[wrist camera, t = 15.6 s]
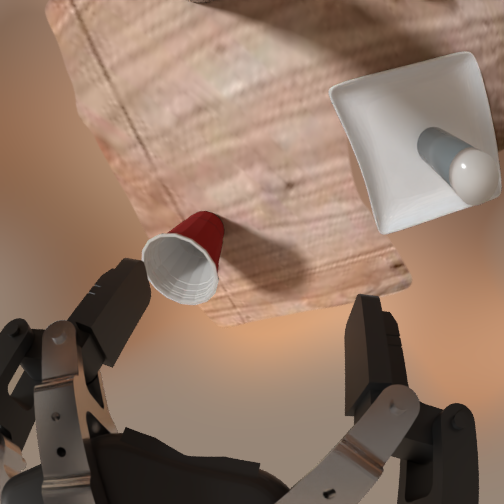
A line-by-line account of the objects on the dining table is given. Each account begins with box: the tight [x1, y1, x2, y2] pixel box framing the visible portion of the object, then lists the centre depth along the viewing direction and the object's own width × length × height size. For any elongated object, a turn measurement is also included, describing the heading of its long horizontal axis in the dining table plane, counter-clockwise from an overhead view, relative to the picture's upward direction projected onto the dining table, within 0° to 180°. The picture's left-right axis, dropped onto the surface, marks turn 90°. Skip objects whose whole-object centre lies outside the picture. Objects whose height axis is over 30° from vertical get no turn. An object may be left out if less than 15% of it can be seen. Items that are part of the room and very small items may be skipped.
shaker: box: [417, 127, 499, 206], centre depth 25 cm, size 5×5×12 cm
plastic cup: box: [142, 211, 224, 305], centre depth 41 cm, size 11×11×12 cm
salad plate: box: [329, 52, 502, 234], centre depth 31 cm, size 21×21×3 cm
